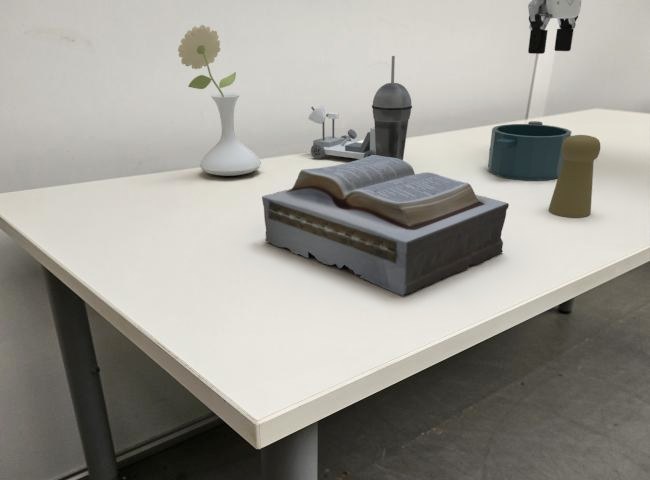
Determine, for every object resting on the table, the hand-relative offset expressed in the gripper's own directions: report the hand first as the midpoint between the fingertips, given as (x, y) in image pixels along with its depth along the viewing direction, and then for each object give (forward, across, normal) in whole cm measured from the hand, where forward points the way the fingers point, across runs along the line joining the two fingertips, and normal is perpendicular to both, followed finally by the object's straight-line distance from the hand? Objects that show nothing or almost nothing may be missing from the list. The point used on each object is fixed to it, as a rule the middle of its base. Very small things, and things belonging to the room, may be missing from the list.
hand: (549, 52), depth 119 cm
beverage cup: (+20, -33, +11) cm, 40 cm away
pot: (+20, -15, -7) cm, 26 cm away
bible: (+20, -65, -16) cm, 70 cm away
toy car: (+19, -29, +25) cm, 43 cm away
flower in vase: (+19, -56, +31) cm, 67 cm away
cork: (+20, -33, -25) cm, 46 cm away
